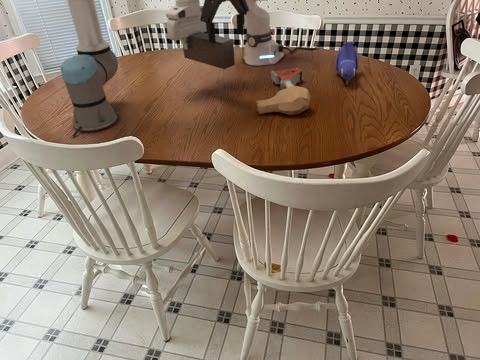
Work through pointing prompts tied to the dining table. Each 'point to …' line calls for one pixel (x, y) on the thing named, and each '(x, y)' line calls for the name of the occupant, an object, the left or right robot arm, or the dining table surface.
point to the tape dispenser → (287, 77)
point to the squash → (286, 101)
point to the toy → (347, 61)
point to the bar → (210, 50)
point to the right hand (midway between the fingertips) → (193, 46)
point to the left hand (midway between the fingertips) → (227, 38)
